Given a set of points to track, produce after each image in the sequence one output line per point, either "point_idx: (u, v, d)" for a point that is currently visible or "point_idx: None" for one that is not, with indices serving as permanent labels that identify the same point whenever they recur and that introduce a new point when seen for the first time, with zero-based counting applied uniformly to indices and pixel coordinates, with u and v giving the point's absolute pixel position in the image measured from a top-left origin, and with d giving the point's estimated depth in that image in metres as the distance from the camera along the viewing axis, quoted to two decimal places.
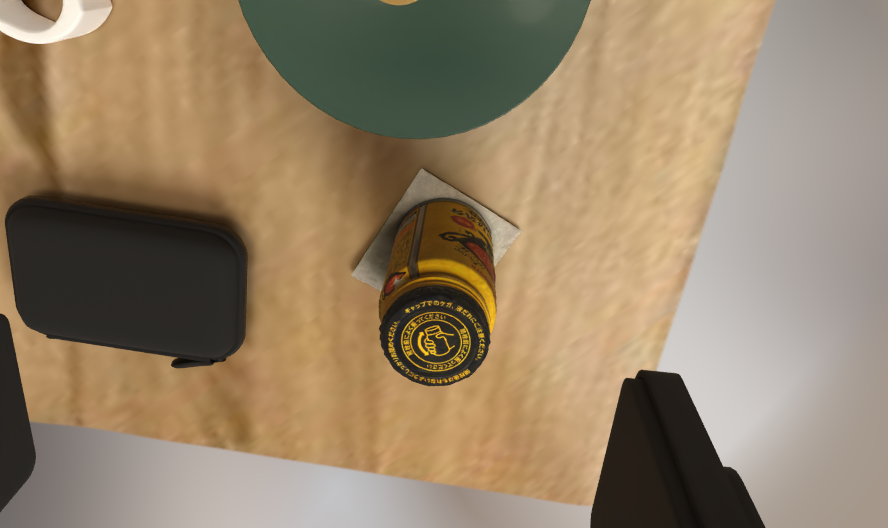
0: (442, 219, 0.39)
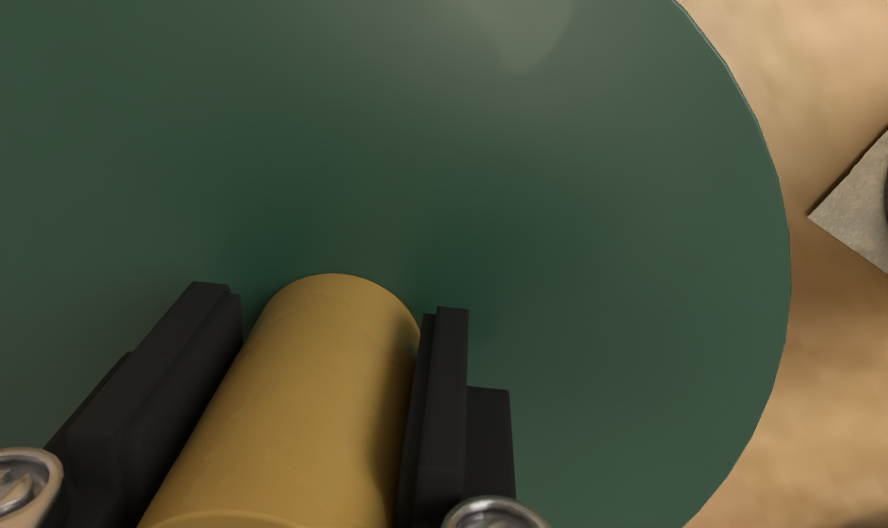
0: None
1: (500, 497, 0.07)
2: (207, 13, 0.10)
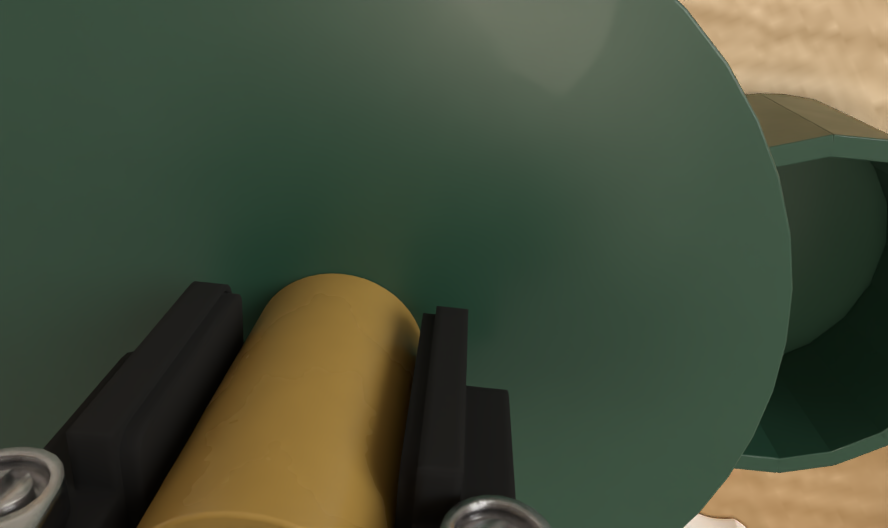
0: None
1: (499, 497, 0.07)
2: (207, 12, 0.10)
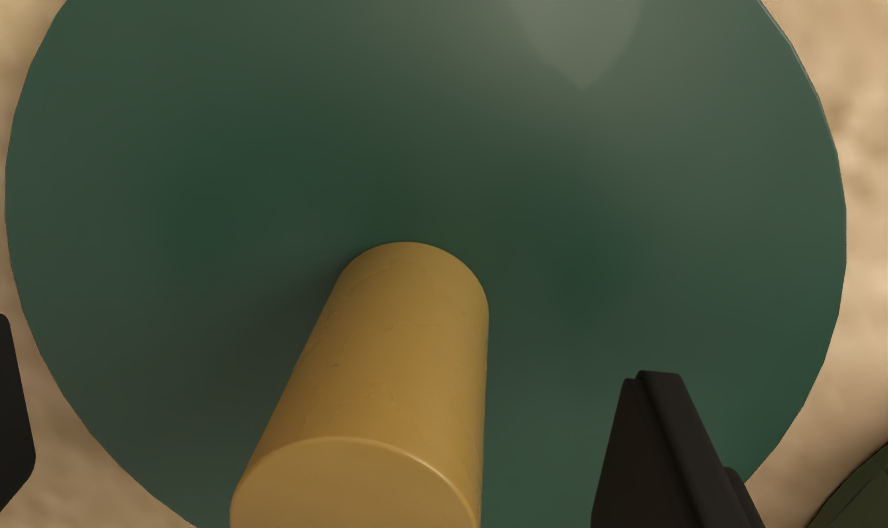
0: None
1: None
2: None
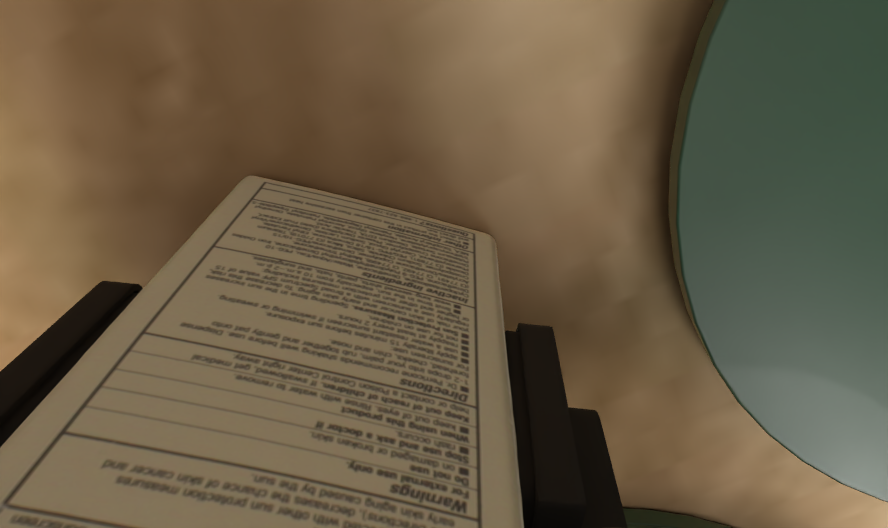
0: None
1: None
2: None
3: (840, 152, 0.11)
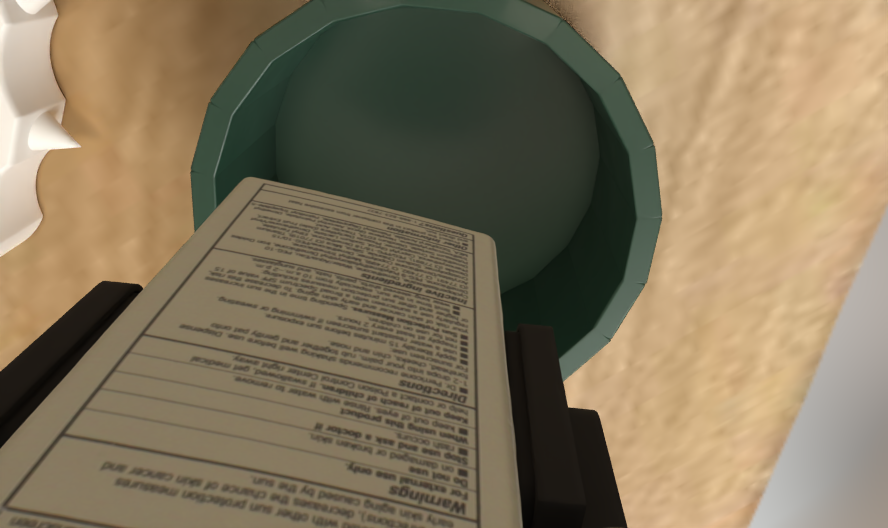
0: None
1: None
2: None
3: None
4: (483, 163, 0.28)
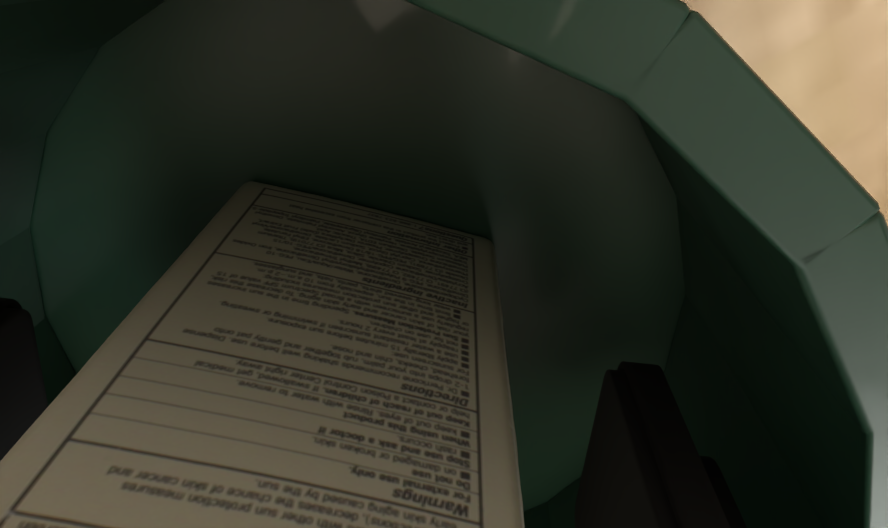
0: None
1: None
2: None
3: None
4: None
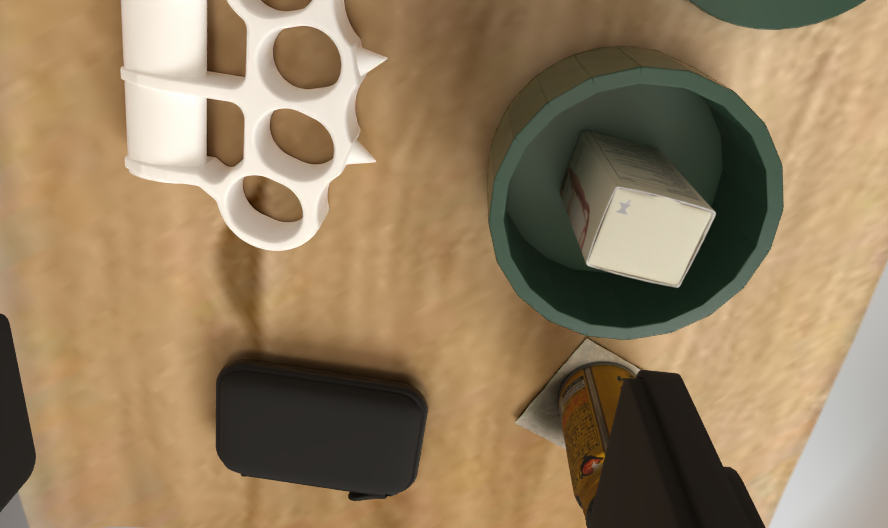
0: (614, 392, 0.44)
1: None
2: None
3: None
4: None
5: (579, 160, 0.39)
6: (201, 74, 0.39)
